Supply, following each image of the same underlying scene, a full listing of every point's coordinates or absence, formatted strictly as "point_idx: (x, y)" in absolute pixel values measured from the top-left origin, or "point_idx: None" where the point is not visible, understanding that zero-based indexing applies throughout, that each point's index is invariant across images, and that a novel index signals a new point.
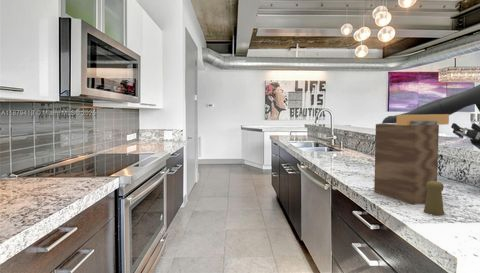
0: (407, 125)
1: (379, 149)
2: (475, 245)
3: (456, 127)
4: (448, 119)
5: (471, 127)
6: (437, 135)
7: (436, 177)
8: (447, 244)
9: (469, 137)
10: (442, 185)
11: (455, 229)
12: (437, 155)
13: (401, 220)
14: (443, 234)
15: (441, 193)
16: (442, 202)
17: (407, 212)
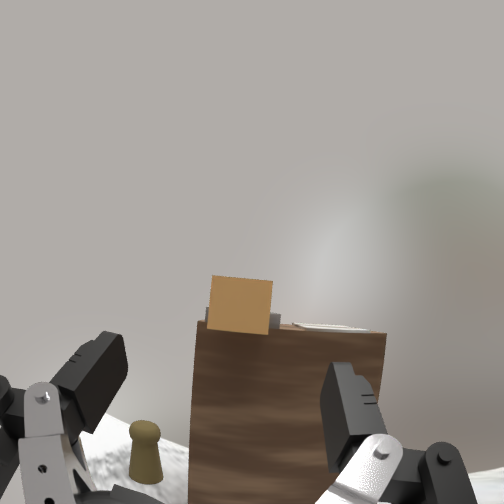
0: None
1: None
2: None
3: (330, 420)
4: (210, 302)
5: (125, 370)
6: (195, 358)
7: (188, 484)
8: None
9: None
10: (130, 426)
11: (97, 438)
12: (190, 426)
13: (160, 438)
14: (104, 426)
15: (132, 442)
16: (131, 457)
17: (175, 460)
